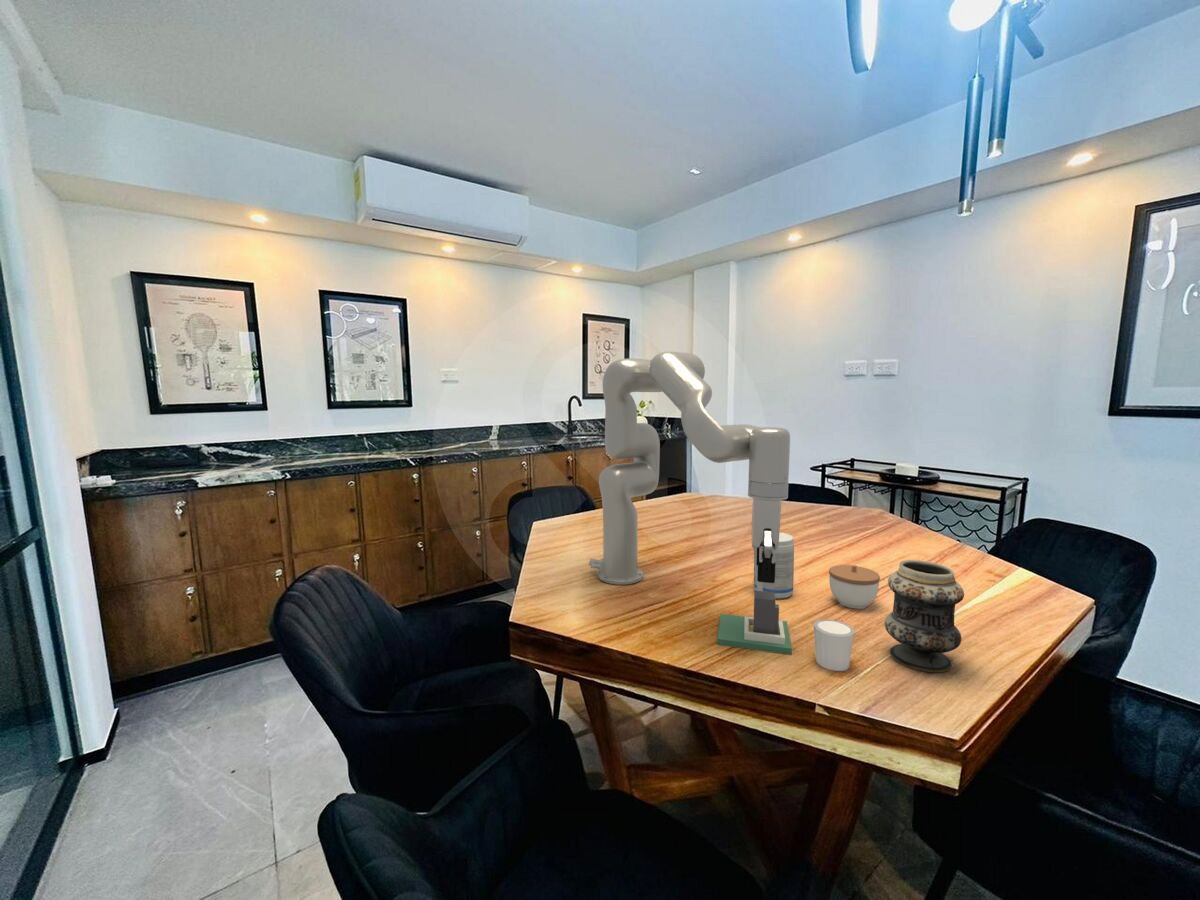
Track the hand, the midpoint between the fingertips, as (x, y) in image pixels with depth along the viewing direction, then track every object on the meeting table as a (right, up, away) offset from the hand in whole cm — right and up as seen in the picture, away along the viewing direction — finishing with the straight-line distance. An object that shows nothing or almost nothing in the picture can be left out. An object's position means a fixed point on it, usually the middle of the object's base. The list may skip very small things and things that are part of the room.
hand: (765, 573), depth 99 cm
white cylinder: (+10, -15, -8) cm, 19 cm away
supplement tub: (+10, -11, +25) cm, 30 cm away
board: (-2, -14, +3) cm, 14 cm away
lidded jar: (+27, -12, +18) cm, 35 cm away
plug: (0, -13, +1) cm, 13 cm away
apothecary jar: (+27, -15, -7) cm, 31 cm away
